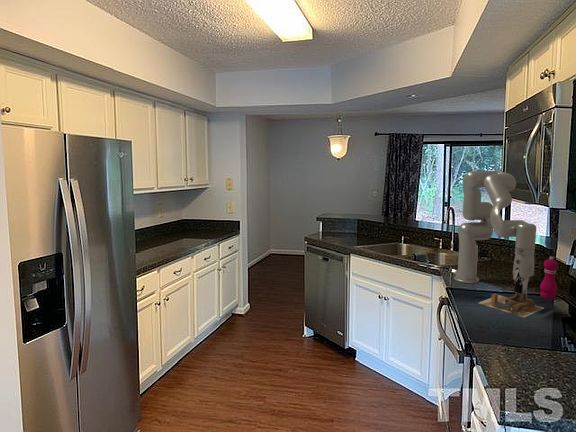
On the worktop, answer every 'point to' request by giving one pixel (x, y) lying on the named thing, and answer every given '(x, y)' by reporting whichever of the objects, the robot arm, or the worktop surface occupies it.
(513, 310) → the dock
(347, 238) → the worktop surface
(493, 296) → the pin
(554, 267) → the pepper mill
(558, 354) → the worktop surface
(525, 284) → the peg
